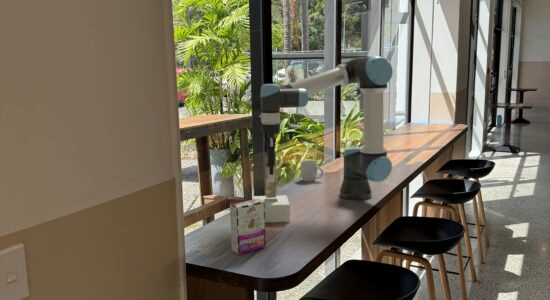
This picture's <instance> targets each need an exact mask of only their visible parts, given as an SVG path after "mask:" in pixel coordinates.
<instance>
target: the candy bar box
mask: <svg viewBox="0 0 550 300" xmlns="http://www.w3.org/2000/svg"><path fill="white" fill-rule="evenodd" d="M229 211H230V212H229V213H230V215H229V217H230V219H229V220H230V238H231V239H230V242H231V251H232V252H233V253H235V254H237V255H243V254H247V253H250V252H251V253H252V252H254V251H257V250H258V251H259V250H262V249H265V248H266V247H267V245H266V244H267V243H266V242H267V241H266V239H267V238H266V237H267V236H266V222H265V202H264V201H262V200H259V199H254V200H253V199H251V200H250V199H249V200H245V201H240V202H235V203H231V204H229Z"/></svg>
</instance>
